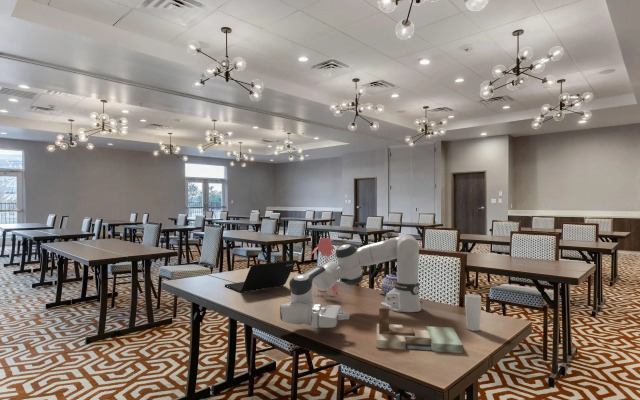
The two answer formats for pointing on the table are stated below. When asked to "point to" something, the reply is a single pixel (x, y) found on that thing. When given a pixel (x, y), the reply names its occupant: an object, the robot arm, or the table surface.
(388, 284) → the teapot
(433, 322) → the table surface
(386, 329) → the push block
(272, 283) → the laptop
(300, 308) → the robot arm
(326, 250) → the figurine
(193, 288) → the table surface
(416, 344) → the board
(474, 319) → the drinking glass
